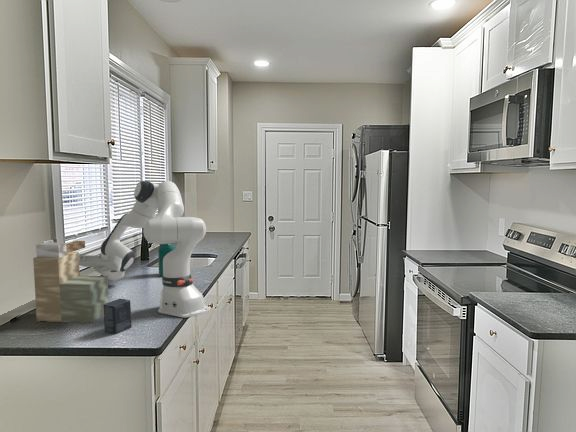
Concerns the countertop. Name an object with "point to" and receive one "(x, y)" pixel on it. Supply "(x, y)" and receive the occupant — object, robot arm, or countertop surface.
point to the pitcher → (163, 255)
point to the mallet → (58, 249)
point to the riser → (67, 291)
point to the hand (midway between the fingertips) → (90, 255)
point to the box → (117, 316)
